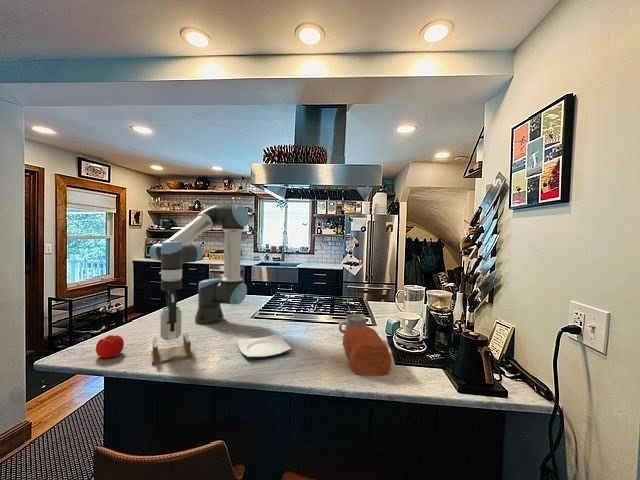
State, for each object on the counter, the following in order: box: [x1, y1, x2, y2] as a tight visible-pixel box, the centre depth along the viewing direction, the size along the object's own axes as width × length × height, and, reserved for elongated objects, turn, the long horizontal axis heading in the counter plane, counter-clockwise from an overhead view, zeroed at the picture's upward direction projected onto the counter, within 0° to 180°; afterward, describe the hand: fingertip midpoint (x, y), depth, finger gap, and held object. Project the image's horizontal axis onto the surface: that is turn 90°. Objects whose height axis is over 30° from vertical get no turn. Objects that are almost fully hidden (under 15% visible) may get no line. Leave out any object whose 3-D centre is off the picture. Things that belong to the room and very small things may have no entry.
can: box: [159, 306, 182, 341], centre depth 119 cm, size 8×8×12 cm
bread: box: [342, 325, 392, 376], centre depth 120 cm, size 16×27×11 cm, turn 4°
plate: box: [237, 333, 293, 360], centre depth 128 cm, size 20×20×3 cm
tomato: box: [95, 334, 125, 359], centre depth 119 cm, size 9×9×8 cm
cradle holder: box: [150, 332, 193, 366], centre depth 120 cm, size 14×12×7 cm
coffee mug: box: [338, 313, 367, 335], centre depth 144 cm, size 13×10×10 cm
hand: (171, 335), depth 120 cm, fingers closed on can, 7 cm apart
